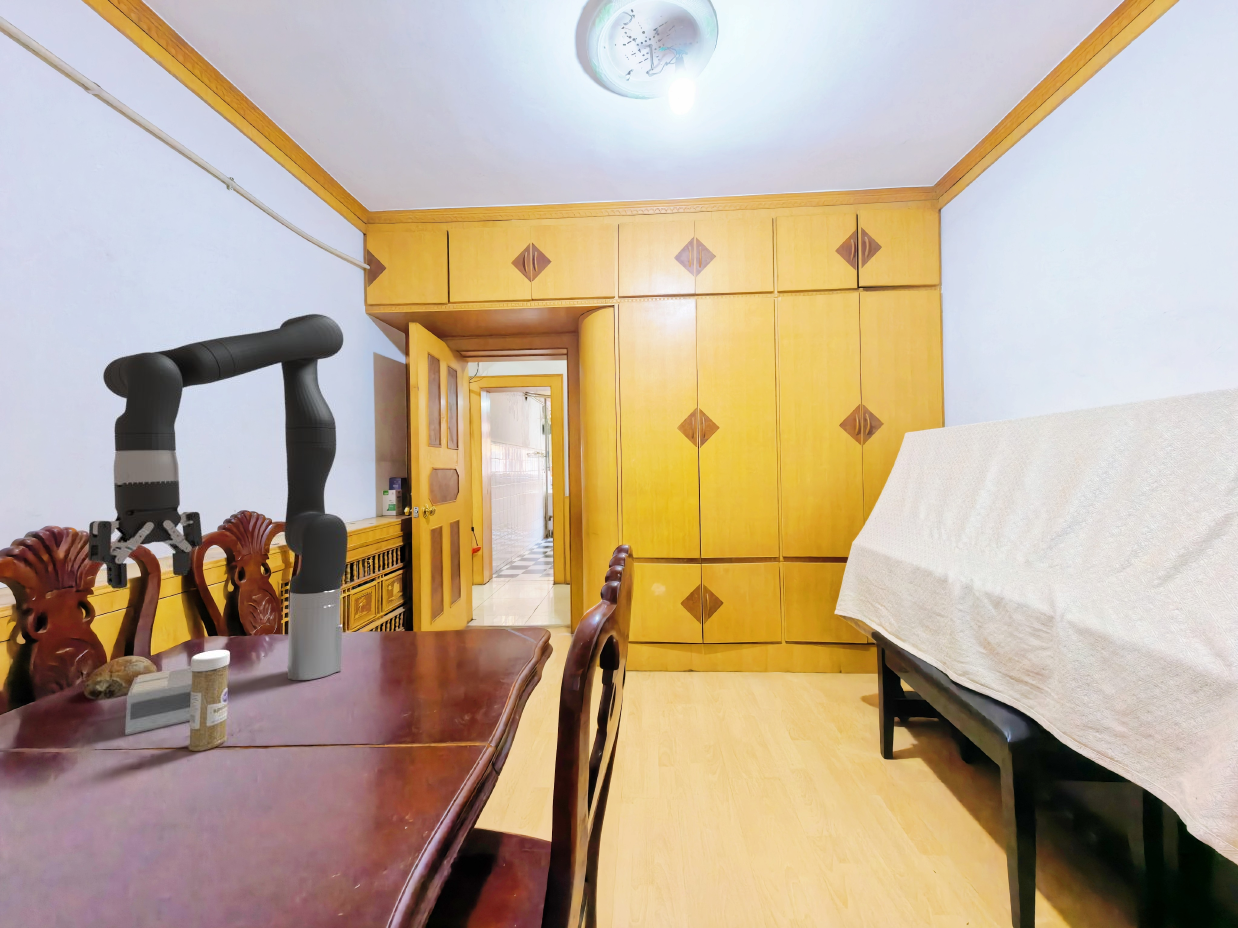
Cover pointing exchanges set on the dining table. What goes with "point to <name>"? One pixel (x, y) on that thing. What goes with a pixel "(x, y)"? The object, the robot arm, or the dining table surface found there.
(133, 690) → the box
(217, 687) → the sprinkles bottle
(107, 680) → the bread roll
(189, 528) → the robot arm
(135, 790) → the dining table surface
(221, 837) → the dining table surface
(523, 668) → the dining table surface
